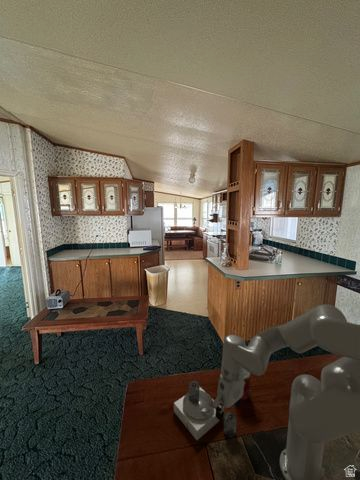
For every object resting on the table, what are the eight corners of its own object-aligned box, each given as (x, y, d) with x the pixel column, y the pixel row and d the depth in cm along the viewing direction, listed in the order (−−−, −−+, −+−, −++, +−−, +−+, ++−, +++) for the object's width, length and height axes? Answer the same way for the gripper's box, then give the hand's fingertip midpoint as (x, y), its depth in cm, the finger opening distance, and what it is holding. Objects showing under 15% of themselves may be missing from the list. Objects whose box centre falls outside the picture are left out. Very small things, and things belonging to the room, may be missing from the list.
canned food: (250, 402, 91) (251, 379, 90) (231, 399, 93) (232, 376, 91) (248, 388, 99) (249, 366, 97) (230, 385, 100) (231, 364, 99)
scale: (222, 417, 84) (223, 408, 84) (196, 441, 75) (196, 430, 75) (198, 393, 95) (199, 385, 94) (173, 411, 86) (173, 402, 86)
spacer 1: (201, 399, 86) (201, 385, 86) (193, 405, 84) (193, 391, 83) (194, 391, 90) (194, 378, 89) (186, 397, 87) (186, 384, 86)
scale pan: (220, 407, 84) (220, 405, 84) (197, 426, 76) (197, 424, 76) (199, 386, 93) (199, 385, 93) (176, 402, 86) (176, 400, 86)
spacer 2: (238, 432, 79) (238, 418, 78) (230, 440, 76) (231, 425, 75) (228, 423, 82) (229, 409, 81) (221, 430, 79) (221, 415, 79)
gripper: (224, 389, 68) (220, 434, 70) (254, 366, 78) (250, 406, 81) (207, 374, 74) (204, 416, 76) (238, 355, 84) (234, 392, 87)
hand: (227, 411), depth 78 cm, fingers open, 9 cm apart
